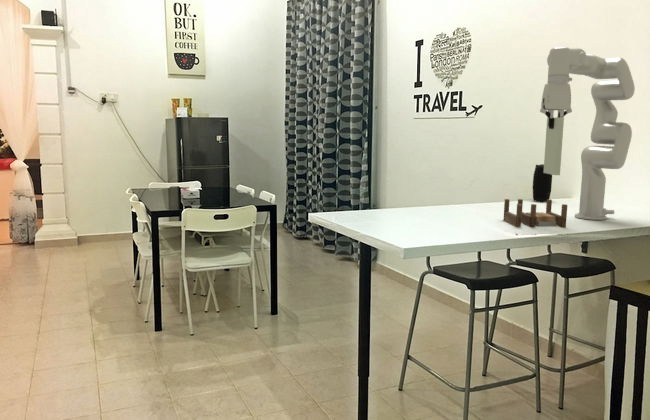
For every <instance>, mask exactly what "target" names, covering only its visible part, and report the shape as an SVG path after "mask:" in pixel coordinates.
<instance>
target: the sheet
mask: <svg viewBox="0 0 650 420" xmlns="http://www.w3.org/2000/svg"><path fill="white" fill-rule="evenodd" d="M553 118H554V128H553V129H549V127H548V121H549V118H548V117H547V118H546V127H545V128H546V129H545V130H546V131H545V148H544V160H543V161H544V162H543V164H544V172H543V173H547V174H551V175H552V176H560V175H561V165H562V163H561V162H562V154H563V153H562V152H563V151H562V150H563V139H564V138H563V137H564V125H565V123H564V122H565V121H564V120H565V117H563V118H557V117H553Z"/></svg>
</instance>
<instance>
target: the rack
mask: <svg viewBox="0 0 650 420" xmlns="http://www.w3.org/2000/svg"><path fill="white" fill-rule="evenodd" d="M523 201H524V200H523V199H521V198H518V199H517V204H516V214H515V213H513V212H510V198H509V199H508V198H504V205H503V206H504V207H503V221H505V222H507V223H508V224H510V225H512V226H514V227H516V228H521V227H522V224H524V225H526V226H528V227H530V228H536V225H535V220H536V212H537V204H535V203H531V204H530V213H531V214H530V215H529V214H526V213H527V212H523V205H524V204H523ZM552 203H553V200H552V199H550V198H549V199H547V201H546V206H545V213H547V214H550V215H553V216H556V217H555V221H556V226H558V227H560V228H567V217H568V216H567V215H568V213H567V212H568V204H561V213H560V214H558V213H555V212H552Z"/></svg>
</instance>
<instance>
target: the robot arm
mask: <svg viewBox="0 0 650 420" xmlns="http://www.w3.org/2000/svg"><path fill="white" fill-rule="evenodd" d="M548 53H549V54H548V56H547V57H546V63H547V66H548V69H547V70H548V71H547V83H546V84H544V87H543V90H542V95H541V103H540V104H541V105H540V109H539V113H542V114H544V115H545V116H546V117H547V118H549V121H548V127H549V129H553V128H554V118H555V117H554V115H555V114H554V112H555V111H557V117H556V118H565V116H566V115H568V114H570V113H572V112H573V110H572V107H571V106H572V89H571V85H570V82H572V81H573V77H570V74H572V75H577V76H585V77H588V78H592V79H595V80H600V81H596V82H594V83H593V84H592V85H591V87H590V89H591V90H590V94H591V97H592V100H593V102H594V103H593V104H594V105H595V106H594V107H595V110H596V112H595V117H594V121H593V123H592V128H591V131H590V141H591V142H592V143H594V144H597V145H589V146H586V147H585V148H583V150H582V151H581V154H580V160H581V183H580V184H581V185H580V194H579V195H580V196H579V209H578V212H577V213H575V214H574V217H575V218H577V219H583V220H589V221H591V220H592V221H604V220H607V215H614V214H615V209H606V208H604V205H605V194H606V193H605V192H606V184H607V183H606V182H607V180H606V179H607V178H606V175H605V173H604V171H603V170H602V169H607V170H619V169H621V168H623V167H624V165H625V162H626V159H627V157H628V152H629V149H630V144H631V142H632V141H631V140H632V137H633V136H632V135H633V131H632V127H631V125H630V124H629V123H627V122H618V121H617V118H618V114H619V113H618V110H617V107H616V106H615V104H614V103H613V102H612V101H627V100H630V99H632V97H633V96H634V95H635V90H636V89H635V88H636V87H635V82H634V80H633V76H632V73H631V70H630V66H629V64H628V62H627V61H626V60H625V59H624V58H623V57H609V58H604V57H603V58H602V57H600V56H597V55H595V54H591V53H586V51H585V50H583V48H579V47H576V48H575V47H573V48H570V47H566V46H558V47H553V48H551V49H550V50H549V52H548ZM613 79H614V80H613ZM606 145H607V146H606ZM608 145H609V146H608ZM612 145H613V146H612Z"/></svg>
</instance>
